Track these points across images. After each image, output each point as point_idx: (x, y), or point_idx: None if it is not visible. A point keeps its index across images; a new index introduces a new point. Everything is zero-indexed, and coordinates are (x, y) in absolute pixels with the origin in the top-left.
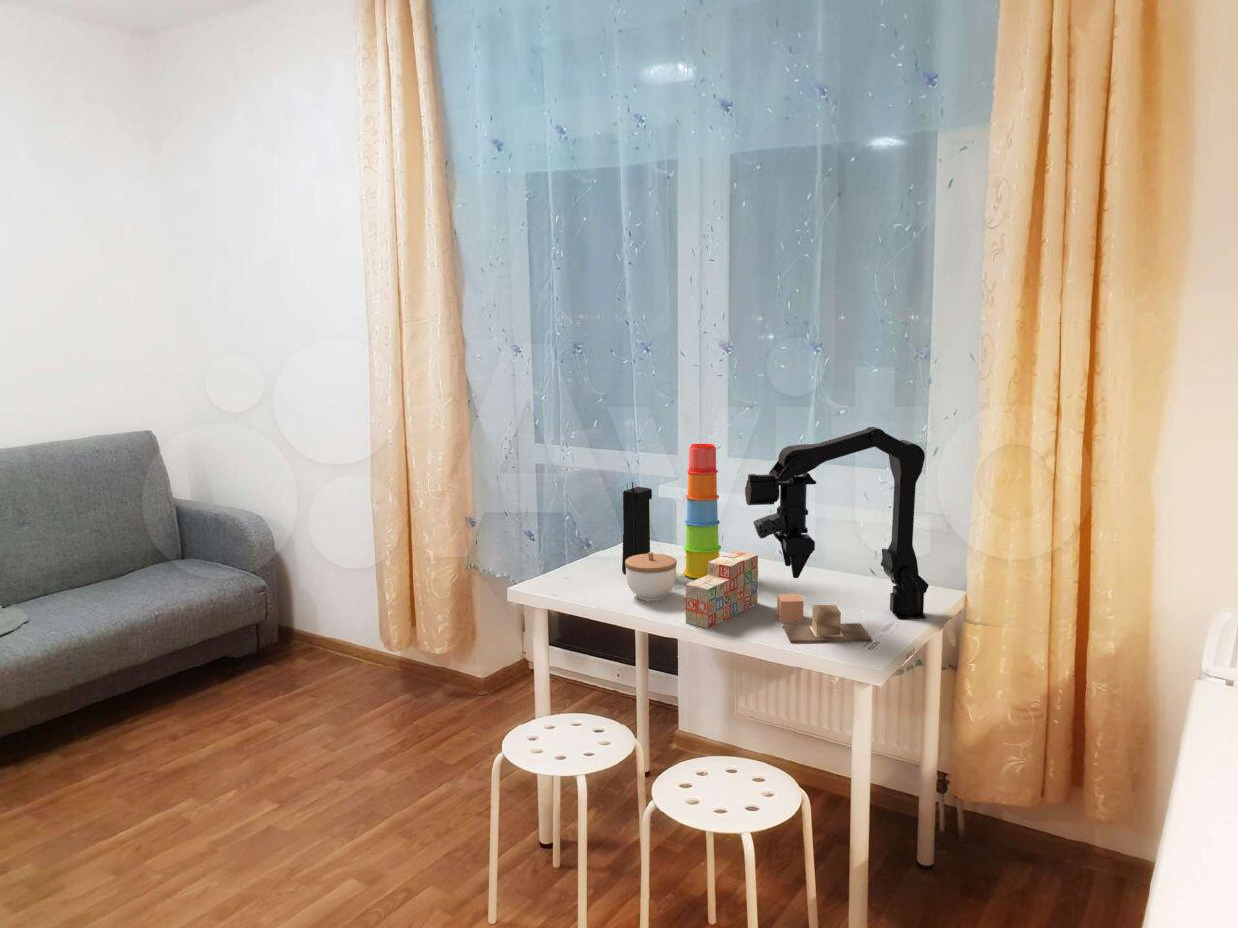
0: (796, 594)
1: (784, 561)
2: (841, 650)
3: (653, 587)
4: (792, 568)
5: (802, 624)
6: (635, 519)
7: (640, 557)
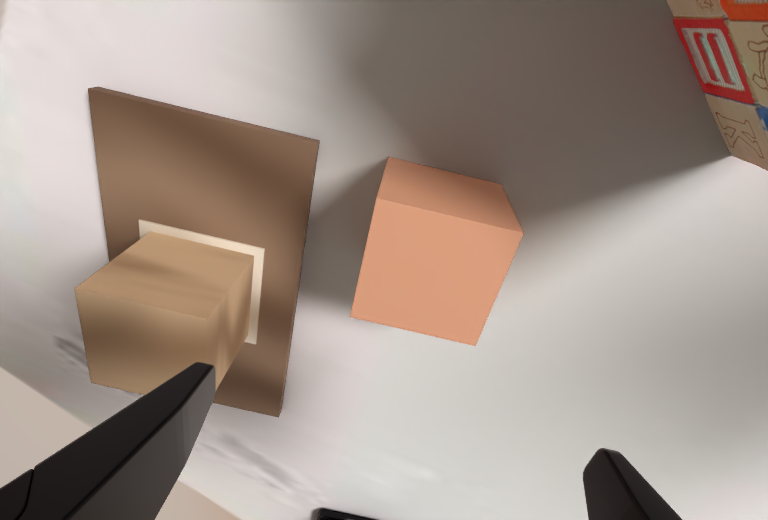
0: (475, 330)
1: (647, 484)
2: (34, 256)
3: None
4: (92, 431)
5: (299, 232)
6: None
7: None
